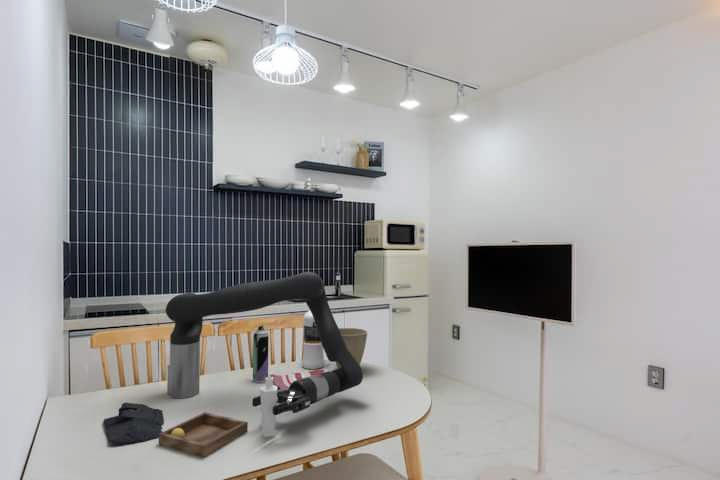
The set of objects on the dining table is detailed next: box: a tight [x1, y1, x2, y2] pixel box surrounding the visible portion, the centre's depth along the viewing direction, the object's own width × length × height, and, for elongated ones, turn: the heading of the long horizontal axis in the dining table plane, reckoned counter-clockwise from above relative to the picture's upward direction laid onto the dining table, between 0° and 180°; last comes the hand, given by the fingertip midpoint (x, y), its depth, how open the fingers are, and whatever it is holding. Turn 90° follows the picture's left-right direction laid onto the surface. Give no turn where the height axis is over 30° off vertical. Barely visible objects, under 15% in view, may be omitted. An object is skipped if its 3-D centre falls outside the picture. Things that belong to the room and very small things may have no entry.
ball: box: [171, 428, 184, 438], centre depth 105 cm, size 3×3×3 cm
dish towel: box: [269, 369, 331, 390], centre depth 152 cm, size 17×23×3 cm
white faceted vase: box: [259, 376, 278, 439], centre depth 110 cm, size 5×4×15 cm
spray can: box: [252, 325, 270, 384], centre depth 154 cm, size 6×6×20 cm
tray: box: [158, 411, 249, 459], centre depth 107 cm, size 15×15×3 cm
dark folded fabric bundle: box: [103, 402, 165, 447], centre depth 113 cm, size 15×22×5 cm
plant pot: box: [335, 327, 368, 369], centre depth 166 cm, size 15×15×16 cm
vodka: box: [301, 309, 326, 370], centre depth 172 cm, size 9×9×30 cm
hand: (263, 406), depth 108 cm, fingers open, 8 cm apart
